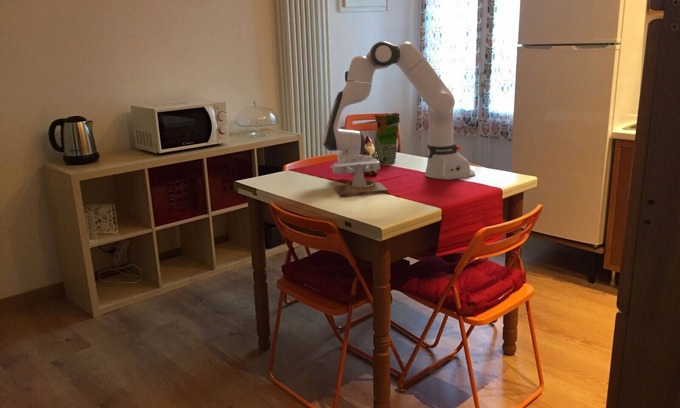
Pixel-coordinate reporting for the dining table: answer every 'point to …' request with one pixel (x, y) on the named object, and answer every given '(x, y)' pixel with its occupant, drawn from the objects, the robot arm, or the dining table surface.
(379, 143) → the pouch
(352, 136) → the robot arm
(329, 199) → the dining table surface
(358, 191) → the collar holder
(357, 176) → the flask
